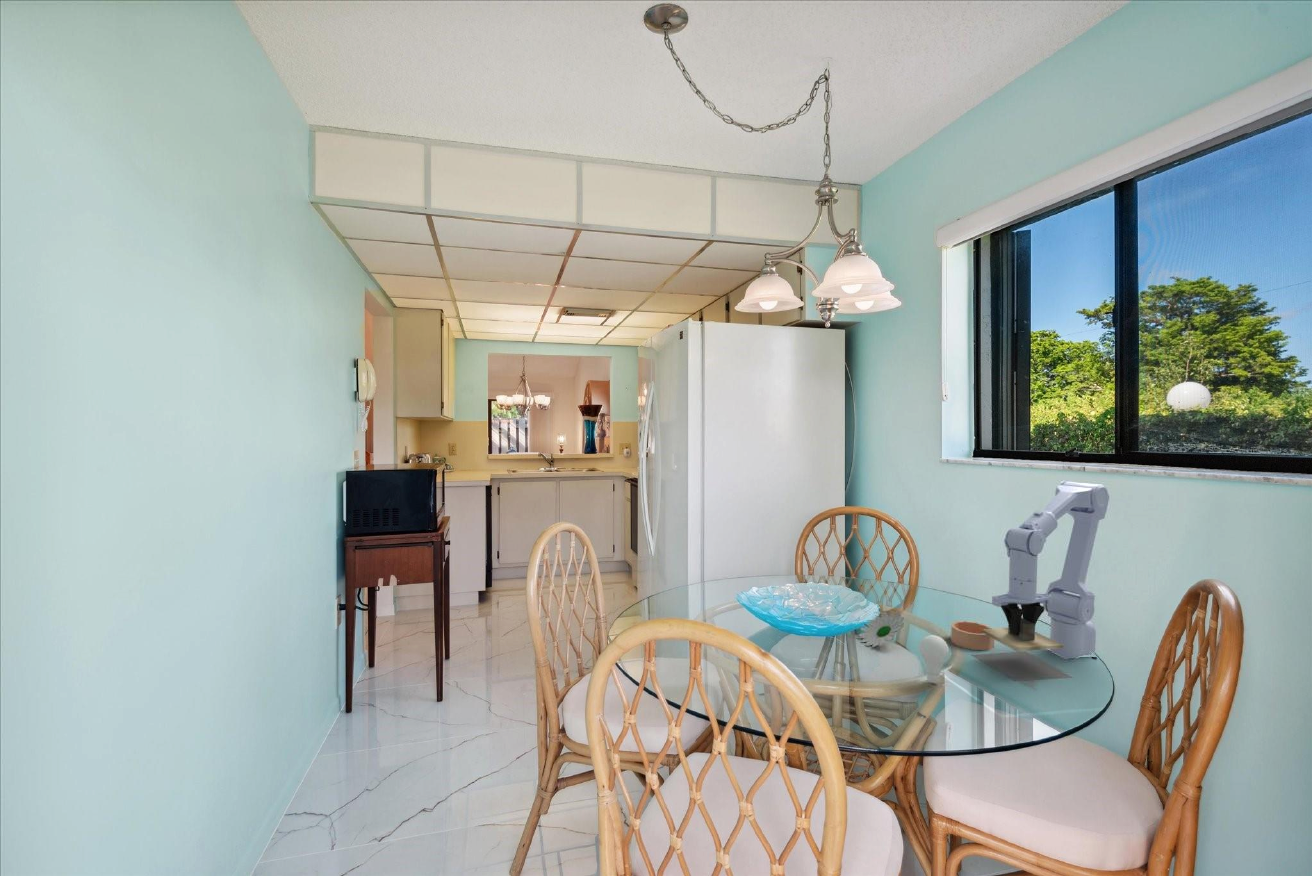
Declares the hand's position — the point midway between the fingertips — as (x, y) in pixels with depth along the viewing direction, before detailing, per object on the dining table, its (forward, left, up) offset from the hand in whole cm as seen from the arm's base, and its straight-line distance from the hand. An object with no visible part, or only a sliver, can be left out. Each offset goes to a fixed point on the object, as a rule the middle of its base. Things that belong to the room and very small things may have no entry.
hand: (1021, 633), depth 148 cm
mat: (0, 0, -8) cm, 8 cm away
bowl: (+2, -15, -8) cm, 17 cm away
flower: (+23, -27, -9) cm, 37 cm away
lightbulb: (+26, +5, -9) cm, 28 cm away
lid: (0, 0, -2) cm, 2 cm away
